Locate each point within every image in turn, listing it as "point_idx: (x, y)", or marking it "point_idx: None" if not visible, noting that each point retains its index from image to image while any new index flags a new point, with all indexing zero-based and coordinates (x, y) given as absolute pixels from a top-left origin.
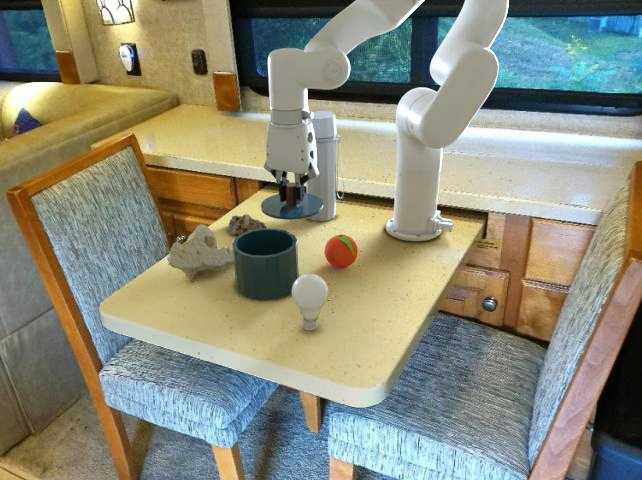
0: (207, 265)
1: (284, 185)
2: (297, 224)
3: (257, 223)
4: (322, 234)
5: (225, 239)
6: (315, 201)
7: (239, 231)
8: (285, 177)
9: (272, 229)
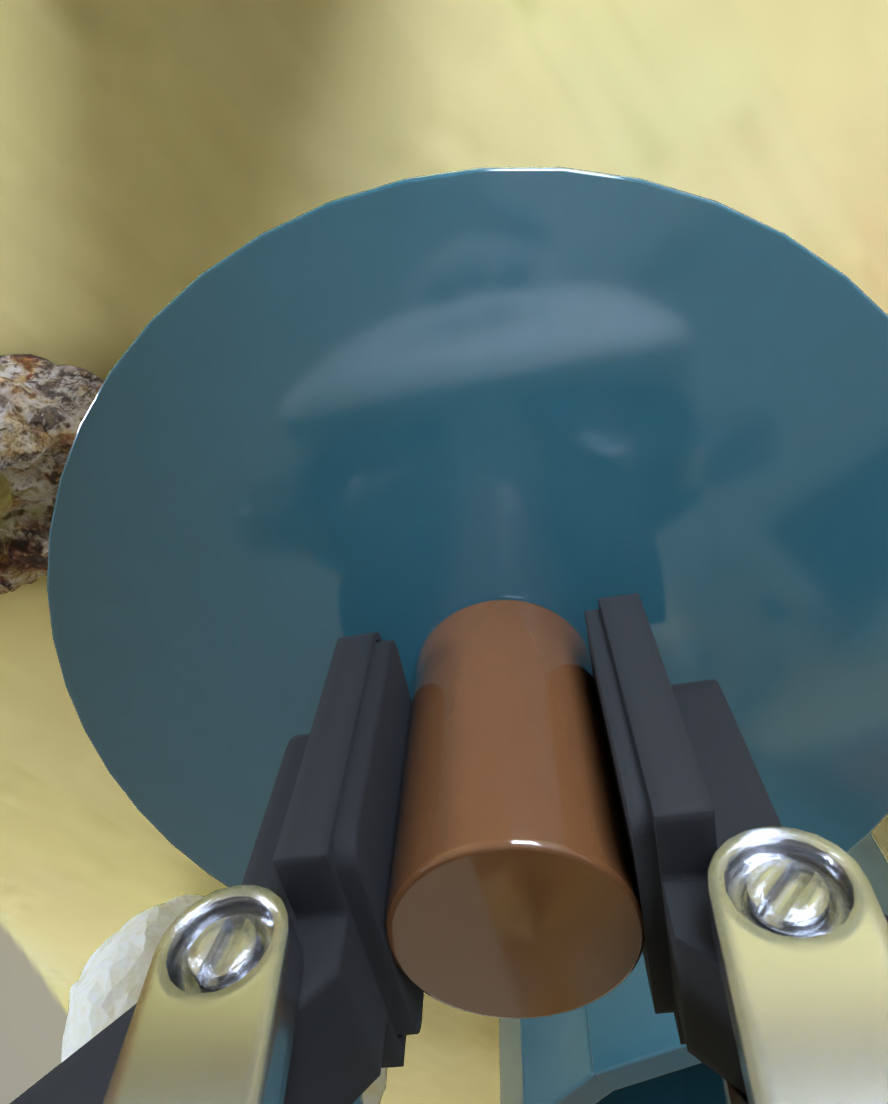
0: (384, 1087)
1: (408, 983)
2: (188, 30)
3: (29, 467)
4: (576, 61)
5: (6, 650)
6: (769, 396)
7: (12, 588)
8: (299, 1016)
9: (681, 1063)
